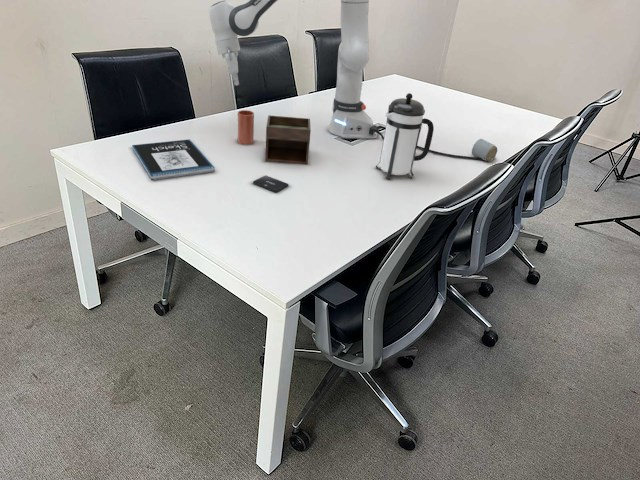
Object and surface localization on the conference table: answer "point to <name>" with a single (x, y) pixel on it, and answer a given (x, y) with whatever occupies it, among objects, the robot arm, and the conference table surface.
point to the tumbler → (245, 127)
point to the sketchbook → (172, 159)
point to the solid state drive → (270, 183)
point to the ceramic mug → (484, 150)
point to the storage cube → (287, 139)
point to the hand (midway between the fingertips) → (237, 84)
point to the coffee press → (403, 136)
